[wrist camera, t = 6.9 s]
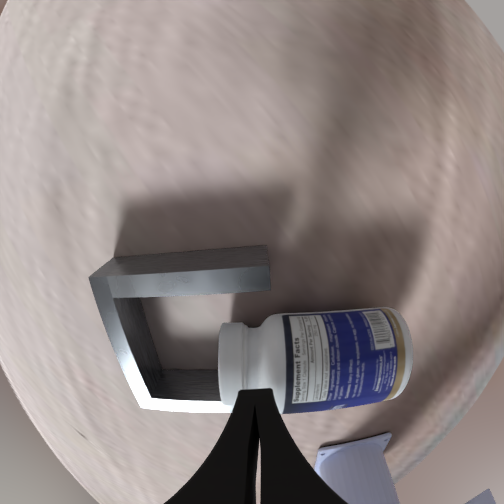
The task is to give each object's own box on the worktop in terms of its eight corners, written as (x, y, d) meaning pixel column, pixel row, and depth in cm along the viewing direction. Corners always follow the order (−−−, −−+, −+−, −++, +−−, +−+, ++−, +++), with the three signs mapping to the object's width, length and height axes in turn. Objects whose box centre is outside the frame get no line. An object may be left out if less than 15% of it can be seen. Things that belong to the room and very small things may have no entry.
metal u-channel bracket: (274, 379, 18) (277, 410, 15) (152, 379, 18) (141, 407, 15) (266, 245, 15) (269, 265, 12) (112, 257, 15) (88, 277, 12)
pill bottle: (372, 385, 16) (228, 394, 16) (374, 305, 17) (227, 311, 17) (411, 411, 11) (216, 430, 11) (418, 305, 12) (212, 315, 12)
